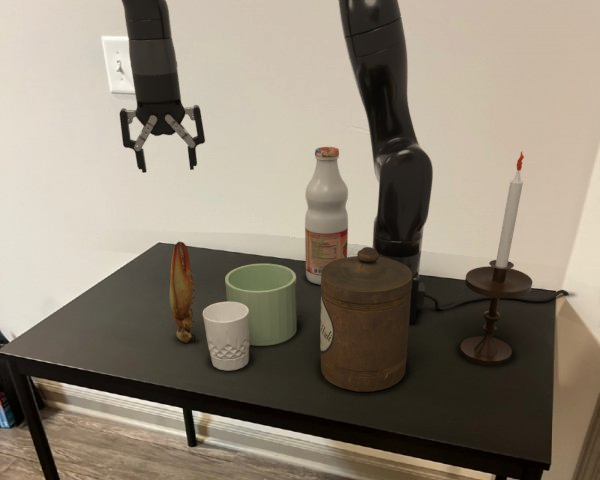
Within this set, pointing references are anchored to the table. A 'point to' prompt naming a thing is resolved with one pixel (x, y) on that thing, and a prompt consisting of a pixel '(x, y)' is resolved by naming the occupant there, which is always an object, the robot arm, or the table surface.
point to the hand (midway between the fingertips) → (168, 170)
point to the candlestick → (497, 286)
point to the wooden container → (364, 321)
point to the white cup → (227, 334)
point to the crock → (265, 301)
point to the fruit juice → (325, 215)
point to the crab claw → (181, 292)
